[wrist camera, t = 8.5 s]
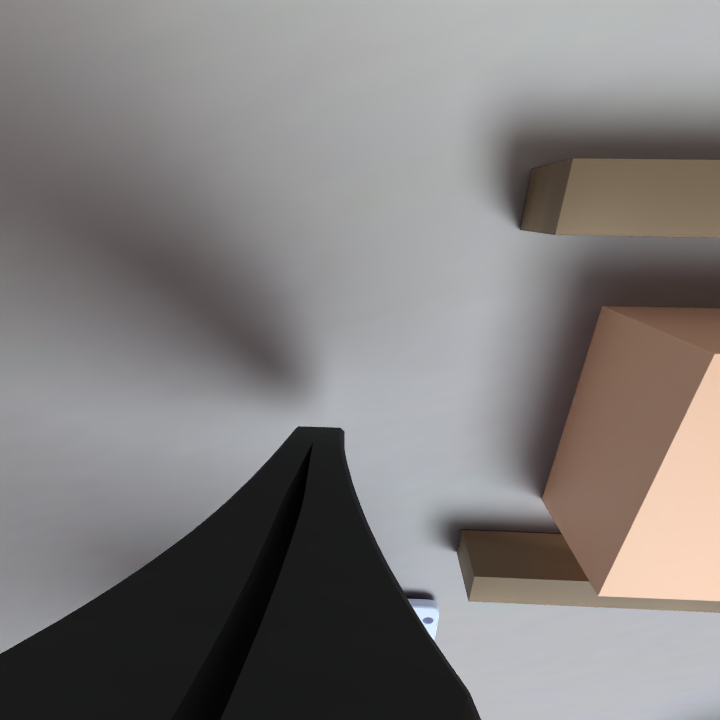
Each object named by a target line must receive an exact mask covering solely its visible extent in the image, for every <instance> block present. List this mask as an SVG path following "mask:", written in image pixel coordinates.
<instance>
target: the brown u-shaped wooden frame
mask: <svg viewBox="0 0 720 720" xmlns="http://www.w3.org/2000/svg"><path fill="white" fill-rule="evenodd" d="M520 230H525V231H532V232H539V233H546V234H553V235H595V236H659V237H720V160H697V159H591V158H573V159H569V160H565V161H561V162H557V163H553V164H549V165H545V166H541V167H537V168H533V169H532V171H531V176H530V181H529V186H528V192H527V197H526V202H525V207H524V212H523V217H522V222H521V228H520ZM457 555H458V560H459V564H460V568H461V572H462V576H463V580H464V584H465V588H466V592H467V597H468V601H473V602H495V603H517V604H539V605H561V606H583V607H606V608H628V609H650V610H672V611H694V612H716V613H720V601H703V600H679V599H655V598H631V597H607V596H598V595H597V594H596V592H595V590H594V588H593V587H592V585H591V583H590V582H589V580H588V578H587V576H586V575H585V573H584V571H583V570H582V568H581V566H580V564H579V563H578V561H577V559H576V558H575V556H574V554H573V552H572V551H571V549H570V547H569V545H568V544H567V542H566V540H565V539H564V537H563V535H562V534H551V533H526V532H501V531H475V530H462V531H461V536H460V541H459V546H458V551H457Z"/></svg>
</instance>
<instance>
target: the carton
mask: <svg viewBox="0 0 720 720" xmlns="http://www.w3.org/2000/svg"><path fill="white" fill-rule="evenodd" d="M542 501H543V502H544V504H545V506H546V508H547V509H548V511H549V513H550V514H551V516H552V518H553V520H554V521H555V523H556V525H557V527H558V528H559V530H560V532H561V533H562V535H563V537H564V539H565V540H566V542H567V544H568V545H569V547H570V549H571V551H572V552H573V554H574V556H575V558H576V559H577V561H578V563H579V564H580V566H581V568H582V570H583V571H584V573H585V575H586V576H587V578H588V580H589V582H590V583H591V585H592V587H593V588H594V590H595V592H596V594H597V595H598V596H607V597H631V598H655V599H679V600H703V601H720V308H679V307H624V306H602V309H601V312H600V315H599V318H598V321H597V325H596V328H595V331H594V334H593V337H592V341H591V344H590V347H589V350H588V353H587V357H586V360H585V363H584V366H583V369H582V373H581V376H580V379H579V382H578V385H577V389H576V392H575V395H574V398H573V401H572V404H571V408H570V411H569V414H568V417H567V420H566V424H565V427H564V430H563V433H562V436H561V440H560V443H559V446H558V449H557V452H556V456H555V459H554V462H553V465H552V468H551V472H550V475H549V478H548V481H547V484H546V488H545V491H544V494H543V497H542Z"/></svg>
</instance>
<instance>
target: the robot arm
mask: <svg viewBox="0 0 720 720" xmlns="http://www.w3.org/2000/svg"><path fill="white" fill-rule="evenodd" d="M438 619H439V608H438V604H437V603H436V602H435V601H433V600H428V599H407V597H406V595H405V594H404V592H403V590H402V588H401V587H400V585H399V583H398V581H397V580H396V578H395V576H394V574H393V573H392V571H391V569H390V567H389V566H388V564H387V562H386V560H385V558H384V556H383V554H382V552H381V550H380V548H379V546H378V544H377V542H376V540H375V538H374V536H373V534H372V531H371V529H370V527H369V525H368V523H367V520H366V518H365V515H364V513H363V510H362V508H361V505H360V503H359V500H358V497H357V495H356V492H355V489H354V486H353V483H352V479H351V476H350V472H349V469H348V465H347V460H346V455H345V450H344V431H343V430H342V429H341V428H329V427H297V428H296V429H295V430H294V431H293V432H292V434H291V435H290V436H289V437H288V438H287V440H286V441H285V442H284V443H283V444H282V445H281V447H280V448H279V449H278V450H277V451H276V452H275V453H274V454H273V456H272V457H271V458H270V459H269V460H268V461H267V462H266V463H265V464H264V465H263V466H262V467H261V468H260V470H259V471H258V472H257V473H256V474H255V475H254V476H253V477H252V478H251V479H250V480H249V481H248V482H247V483H246V484H245V485H244V486H243V487H242V488H241V489H239V490H238V491H237V492H236V493H235V494H234V495H233V496H232V497H231V498H230V499H229V500H228V501H227V502H226V503H225V504H224V505H222V506H221V507H220V508H219V509H218V510H217V511H216V512H214V513H213V514H212V515H211V516H210V517H209V518H207V519H206V520H205V521H204V522H203V523H201V524H200V525H199V526H198V527H196V528H195V529H194V530H193V531H192V532H190V533H189V534H188V535H186V536H185V537H184V538H182V539H181V540H180V541H178V542H177V543H176V544H174V545H173V546H172V547H170V548H169V549H167V550H166V551H165V552H163V553H162V554H161V555H159V556H158V557H156V558H155V559H154V560H152V561H151V562H150V563H148V564H147V565H145V566H144V567H143V568H141V569H140V570H138V571H137V572H135V573H134V574H132V575H131V576H129V577H128V578H126V579H125V580H123V581H122V582H120V583H119V584H117V585H116V586H114V587H113V588H111V589H109V590H108V591H106V592H105V593H103V594H101V595H100V596H98V597H97V598H95V599H93V600H92V601H90V602H89V603H87V604H85V605H84V606H82V607H81V608H79V609H77V610H76V611H74V612H72V613H71V614H69V615H67V616H66V617H64V618H62V619H61V620H59V621H57V622H56V623H54V624H52V625H50V626H49V627H47V628H45V629H43V630H42V631H40V632H38V633H36V634H35V635H33V636H31V637H29V638H28V639H26V640H24V641H22V642H21V643H19V644H17V645H15V646H14V647H12V648H10V649H8V650H7V651H5V652H3V653H1V654H0V720H481V719H480V716H479V714H478V711H477V709H476V706H475V704H474V702H473V699H472V697H471V695H470V693H469V691H468V689H467V688H466V686H465V685H464V684H463V682H462V681H461V679H460V678H459V676H458V675H457V674H456V672H455V671H454V669H453V668H452V667H451V665H450V664H449V662H448V661H447V659H446V658H445V656H444V655H443V653H442V652H441V651H440V649H439V648H438V646H437V645H436V643H435V642H434V641H435V635H436V630H437V624H438Z"/></svg>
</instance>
